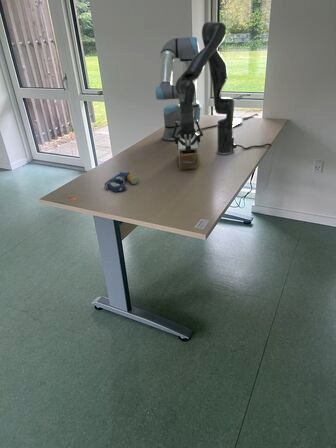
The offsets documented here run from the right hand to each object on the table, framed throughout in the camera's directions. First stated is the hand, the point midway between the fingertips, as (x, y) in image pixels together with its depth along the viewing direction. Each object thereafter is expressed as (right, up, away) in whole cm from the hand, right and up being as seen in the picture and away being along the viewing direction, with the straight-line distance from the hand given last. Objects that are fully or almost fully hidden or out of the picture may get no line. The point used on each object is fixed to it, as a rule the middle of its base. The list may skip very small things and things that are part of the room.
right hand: (188, 152), depth 184 cm
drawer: (+1, -5, +13) cm, 14 cm away
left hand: (+1, +8, +23) cm, 24 cm away
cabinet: (+1, 0, +22) cm, 22 cm away
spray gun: (-36, -18, -1) cm, 40 cm away
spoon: (+39, +36, +77) cm, 94 cm away
